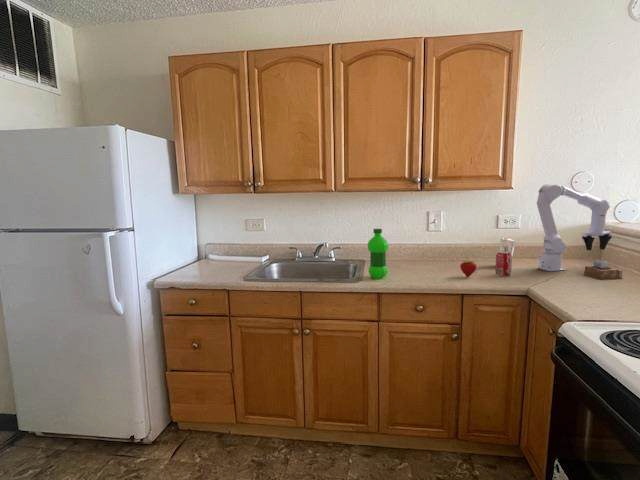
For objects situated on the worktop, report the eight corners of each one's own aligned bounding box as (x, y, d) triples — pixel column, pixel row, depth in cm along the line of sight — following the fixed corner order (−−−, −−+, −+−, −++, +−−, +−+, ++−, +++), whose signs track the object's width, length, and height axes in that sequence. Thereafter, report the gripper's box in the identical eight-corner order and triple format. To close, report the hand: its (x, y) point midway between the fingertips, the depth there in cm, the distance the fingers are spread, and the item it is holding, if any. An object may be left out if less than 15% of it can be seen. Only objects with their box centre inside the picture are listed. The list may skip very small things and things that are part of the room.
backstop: (618, 278, 165) (619, 270, 165) (599, 272, 175) (600, 265, 175) (621, 277, 166) (622, 270, 165) (602, 272, 175) (603, 265, 175)
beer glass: (514, 265, 195) (516, 238, 193) (510, 268, 190) (512, 240, 188) (501, 264, 200) (502, 237, 198) (497, 266, 195) (498, 239, 193)
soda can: (510, 274, 179) (511, 250, 177) (511, 277, 172) (512, 253, 170) (495, 273, 182) (496, 250, 180) (495, 276, 175) (496, 252, 173)
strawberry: (475, 279, 172) (476, 259, 170) (459, 277, 175) (459, 258, 174) (476, 276, 177) (477, 256, 175) (460, 275, 180) (461, 255, 179)
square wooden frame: (600, 279, 165) (601, 270, 164) (584, 274, 174) (584, 266, 173) (618, 277, 166) (618, 269, 165) (600, 273, 175) (601, 265, 174)
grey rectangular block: (600, 277, 168) (601, 262, 167) (592, 275, 172) (594, 261, 171) (607, 276, 168) (609, 262, 167) (600, 274, 172) (601, 260, 171)
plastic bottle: (371, 274, 188) (370, 227, 184) (390, 276, 183) (390, 228, 179) (365, 279, 179) (364, 230, 175) (385, 281, 174) (385, 230, 170)
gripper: (591, 225, 175) (589, 252, 177) (618, 223, 177) (615, 250, 179) (579, 223, 182) (577, 249, 184) (605, 222, 184) (602, 247, 186)
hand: (595, 249), depth 182 cm, fingers open, 7 cm apart
